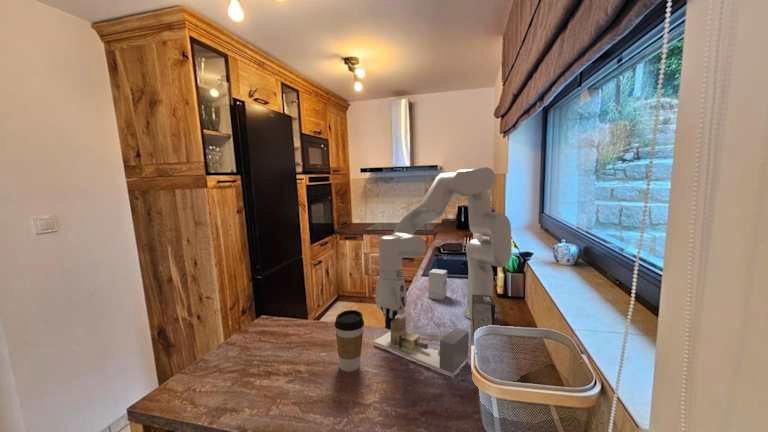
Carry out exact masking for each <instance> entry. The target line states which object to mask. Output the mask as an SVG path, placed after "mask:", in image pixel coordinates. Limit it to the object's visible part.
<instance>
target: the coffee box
mask: <svg viewBox="0 0 768 432" xmlns="http://www.w3.org/2000/svg"><path fill="white" fill-rule="evenodd" d="M495 314H496V303H495V301H494V299H493V298H492V297H491V295H472V308H471V319H470V324H471V325H470V342H471V341H472V343H473V336H474V332H475V331H476V330H477V329H478V328H480V327H483V326H488V325H495V322H496V319H495ZM495 326H496V325H495Z"/></svg>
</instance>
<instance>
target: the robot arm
mask: <svg viewBox="0 0 768 432" xmlns="http://www.w3.org/2000/svg"><path fill="white" fill-rule="evenodd" d="M496 176H497V175H496V173H495V171H494V169H492V168H490V167H487V166H481V167H469V168H466V167H465V168H461V169H458V170H456V171H447V172H445V171H444V172H442V173H440V174H438V175H437V176H436V177H435V179H433V182H432V184H431V185H430V187H428V191H427V192H426V193H425V194H424V196H423V198H422V200H421V202H420V203H419V204H418V205H417V206H416V207H414V208H413V209H412V210H411V211H409V212H408V213H407V214H406V215H405V216H404V217H402V219H401V220H400V221H399V222H398V224H397V226H396V227H395V229H394V230H393V232H392V234H391V235H383V236H381V237H380V238H379V240H378V276H377V279H376V286H375V296H374V297H375V298H374V299H375V304H376V307H377V308H378V309H379V310H381V312H382V314H383V315H382V316H383V317H384V324H385V326H384V329H386V330H389V331H391V321H392V320H394V319H396V317H397V315H398V316H399V315H400V316H401V315H402V316H403V315H404V314H405V308H406V307H407V303H408V302H407V289H406V282H405V278H404V277H405V273H404V272H403V268H402V267H403V258H410V259H411V258H412V259H413V258H414V259H416V258H419V257H421V256H422V255H424V254H425V252H426V251H427V242H426V241H425V239H424V238H423V237H421V236H419V235H416V234H415V232H416V231H417V230H418V229H420V228H421V227H423V226H424V225H426V224H429V223H431V222H434V221H436V220H438V219H440V218H441V217H442V216H443V214H444V212H445V210H446V209H447V207H448V204H449V203H450V201H451V200H452V199H453V197H465V199H466V201H467V206H468V208H467V209H468V210H467V211H468V227H469V230H470V232H471V233H472V234H474V235H475V236H481V237H475V238H472V239H470V240H469V241H468V243H467V244H466V248H465V250H466V251H465V252H466V253H465V254H466V258H467V266H468V274H467V275H468V276H467V279H468V280H467V308H464V309H463V316H464V317H466V319H468V320H471V308H472V295H491V297H492V299H493V295H494V293H493V291H494V290H493V289H494V271H493V268H492V266H493V267H496V268H498V267H499V268H504V267H507V265H508V264H509V263H510V261H511V258H512V226H511V221H510V219H509V217H508V216H507V215H506V214H504V213H502V212H497V211H496V212H495V211H494V212H493V211H492V203H491V196H490V194H489V192H488V191H490V190H492V188H493V187H494V186H495V184H496V182H497V181H496V180H497V177H496ZM482 237H488V238H482ZM489 238H490V239H489ZM496 318H497V314H496V313H495V320H496Z"/></svg>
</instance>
